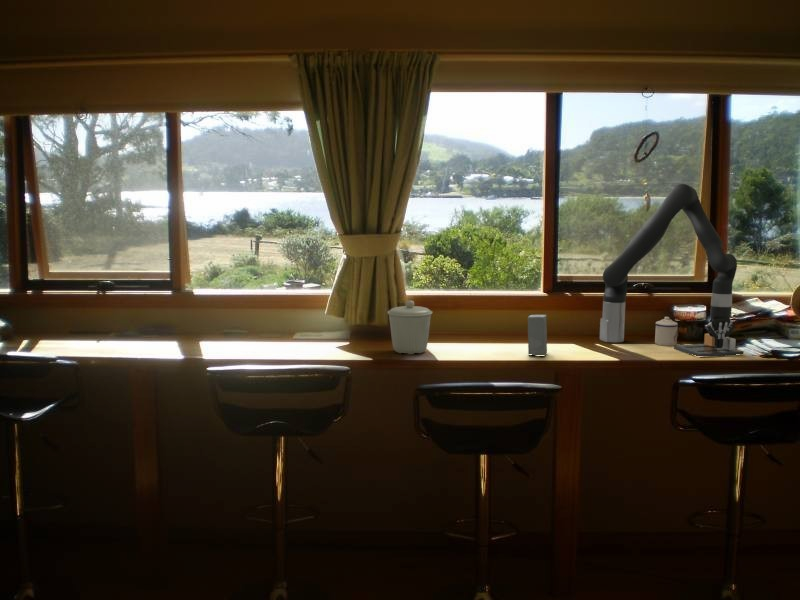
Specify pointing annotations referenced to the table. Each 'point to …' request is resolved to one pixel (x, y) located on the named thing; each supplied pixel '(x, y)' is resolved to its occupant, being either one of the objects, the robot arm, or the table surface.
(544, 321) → the skincare box
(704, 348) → the console
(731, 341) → the fader silver
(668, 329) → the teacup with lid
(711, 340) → the fader orange
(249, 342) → the table surface
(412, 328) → the canister
